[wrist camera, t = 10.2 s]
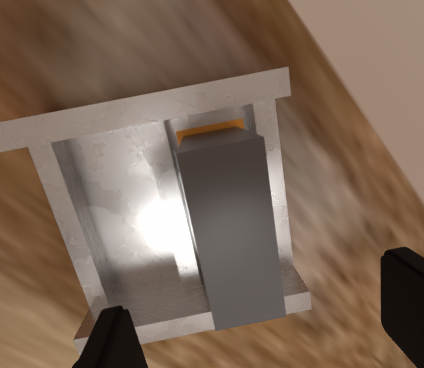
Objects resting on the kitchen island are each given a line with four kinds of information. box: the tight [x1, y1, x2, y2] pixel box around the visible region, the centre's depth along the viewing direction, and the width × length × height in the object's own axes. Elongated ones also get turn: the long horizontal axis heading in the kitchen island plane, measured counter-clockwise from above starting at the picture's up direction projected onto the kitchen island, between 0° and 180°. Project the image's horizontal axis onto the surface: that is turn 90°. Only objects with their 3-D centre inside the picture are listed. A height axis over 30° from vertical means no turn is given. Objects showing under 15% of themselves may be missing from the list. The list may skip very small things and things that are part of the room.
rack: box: [0, 67, 311, 355], centre depth 19 cm, size 16×16×6 cm
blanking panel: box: [176, 126, 286, 331], centre depth 17 cm, size 10×4×8 cm, turn 10°
